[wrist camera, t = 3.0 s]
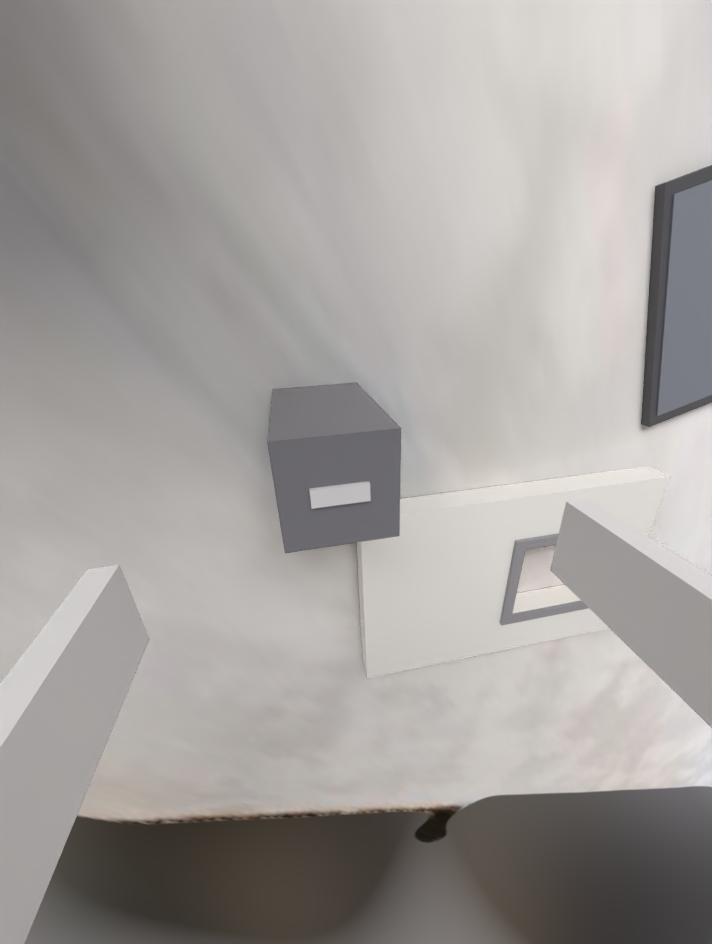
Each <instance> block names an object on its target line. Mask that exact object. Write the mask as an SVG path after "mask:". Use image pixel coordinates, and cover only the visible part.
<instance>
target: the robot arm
mask: <svg viewBox="0 0 712 944" xmlns="http://www.w3.org/2000/svg"><path fill="white" fill-rule="evenodd" d="M550 570H551V571H552V572H553V573H554V574H555V575H556V576H557V577H558V578H559V579H560V580H561V581H562V582H563V583H564V584H565V585H566V586H567V587H568V588H569V589H570V590H571V591H572V592H573V593H574V594H575V595H576V596H577V597H578V598H579V599H580V600H581V601H582V602H583V603H584V604H585V605H586V606H587V607H588V608H589V609H590V610H591V611H593V612H594V613H595V614H596V615H597V616H598V617H599V618H600V619H601V620H602V621H603V622H604V623H605V624H606V625H607V626H608V627H609V628H610V629H611V630H612V631H613V632H614V633H615V634H616V635H617V636H618V637H619V638H620V639H621V640H622V641H623V642H624V643H625V644H626V645H627V646H628V647H629V648H630V649H631V650H632V651H633V652H634V653H636V654H637V655H638V656H639V657H640V658H641V659H642V660H643V661H644V662H645V663H646V664H647V665H648V666H649V667H650V668H651V669H652V670H653V671H654V672H655V673H656V674H657V675H658V676H659V677H660V678H661V679H662V680H663V681H664V682H665V683H666V684H667V685H668V686H669V687H670V688H671V689H672V690H673V691H674V692H675V693H676V694H678V695H679V696H680V697H681V698H682V699H683V700H684V701H685V702H686V703H687V704H688V705H689V706H690V707H691V708H692V709H693V710H694V711H695V712H696V713H697V714H698V715H699V716H700V717H701V718H702V719H703V720H704V721H705V722H706V723H707V724H708V725H709V726H710V727H711V728H712V575H711V574H709V573H708V572H706V571H704V570H703V569H701V568H700V567H698V566H696V565H695V564H693V563H691V562H690V561H688V560H687V559H685V558H683V557H682V556H680V555H678V554H677V553H675V552H674V551H672V550H670V549H669V548H667V547H666V546H664V545H662V544H661V543H659V542H657V541H656V540H654V539H653V538H651V537H649V536H648V535H646V534H645V533H643V532H641V531H640V530H638V529H636V528H635V527H633V526H632V525H630V524H628V523H627V522H625V521H624V520H622V519H620V518H619V517H617V516H615V515H614V514H612V513H611V512H609V511H607V510H606V509H604V508H603V507H601V506H599V505H598V504H596V503H594V502H593V501H591V500H590V499H588V498H586V499H579V500H572V501H566V505H565V509H564V513H563V517H562V522H561V526H560V530H559V534H558V539H557V543H556V547H555V552H554V556H553V560H552V564H551V569H550ZM148 641H149V636H148V634H147V631H146V629H145V627H144V624H143V622H142V619H141V617H140V614H139V612H138V609H137V607H136V604H135V602H134V599H133V597H132V594H131V592H130V589H129V587H128V585H127V582H126V580H125V577H124V575H123V572H122V570H121V567H120V565H113V566H106V567H99V568H92V569H87V571H86V572H85V573H84V574H83V576H82V577H81V578H80V580H79V581H78V582H77V584H76V585H75V586H74V588H73V589H72V590H71V592H70V593H69V594H68V595H67V597H66V598H65V599H64V601H63V602H62V603H61V605H60V606H59V607H58V609H57V610H56V611H55V613H54V614H53V615H52V616H51V618H50V619H49V620H48V622H47V623H46V624H45V626H44V627H43V628H42V630H41V631H40V632H39V634H38V635H37V636H36V637H35V639H34V640H33V641H32V643H31V644H30V645H29V647H28V648H27V649H26V651H25V652H24V653H23V655H22V656H21V657H20V658H19V660H18V661H17V662H16V664H15V665H14V666H13V668H12V669H11V670H10V672H9V673H8V674H7V676H6V677H5V678H4V679H3V681H2V682H1V683H0V944H24V943H25V940H26V938H27V935H28V933H29V930H30V928H31V926H32V923H33V921H34V918H35V916H36V913H37V911H38V909H39V906H40V904H41V901H42V899H43V896H44V894H45V892H46V889H47V887H48V884H49V882H50V879H51V877H52V874H53V872H54V870H55V867H56V865H57V862H58V860H59V857H60V855H61V853H62V850H63V847H64V845H65V843H66V840H67V838H68V836H69V833H70V831H71V828H72V826H73V824H74V821H75V819H76V816H77V814H78V811H79V809H80V807H81V804H82V802H83V799H84V797H85V794H86V792H87V790H88V787H89V785H90V782H91V780H92V777H93V775H94V773H95V770H96V768H97V765H98V763H99V760H100V758H101V755H102V753H103V751H104V748H105V746H106V743H107V741H108V738H109V736H110V734H111V731H112V729H113V726H114V724H115V721H116V719H117V717H118V714H119V712H120V709H121V707H122V704H123V702H124V700H125V697H126V695H127V692H128V690H129V687H130V685H131V683H132V680H133V678H134V675H135V673H136V670H137V668H138V666H139V663H140V661H141V658H142V656H143V653H144V651H145V649H146V646H147V644H148Z"/></svg>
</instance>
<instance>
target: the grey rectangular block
mask: <svg viewBox="0 0 712 944" xmlns="http://www.w3.org/2000/svg"><path fill="white" fill-rule="evenodd" d="M267 443H268V449H269V455H270V462H271V468H272V474H273V480H274V487H275V493H276V499H277V506H278V512H279V518H280V525H281V531H282V537H283V543H284V550H285V553H290V552H297V551H303V550H310V549H317V548H323V547H330V546H337V545H343V544H350V543H357V542H363V541H370V540H377V539H383V538H390V537H397V536H400V460H401V428H400V427H399V426H398V425H397V424H396V422H395V421H394V420H393V419H392V418H391V417H390V416H389V415H388V414H387V413H386V412H385V411H384V410H383V409H382V408H381V407H380V406H379V405H378V404H377V403H376V402H375V401H374V400H373V399H372V398H371V397H370V396H369V395H368V394H367V393H366V392H365V391H364V390H363V389H362V388H361V387H360V386H359V385H358V383H345V384H333V385H321V386H308V387H296V388H283V389H273V392H272V402H271V411H270V421H269V431H268V440H267Z"/></svg>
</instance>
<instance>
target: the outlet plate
mask: <svg viewBox="0 0 712 944" xmlns="http://www.w3.org/2000/svg"><path fill="white" fill-rule="evenodd" d="M670 478H671V476H668V475H666V474H664V473H662V472H659V471H657V470H655V469H653V468H650V467H648V466H643V467H635V468H628V469H620V470H613V471H605V472H598V473H590V474H583V475H575V476H568V477H560V478H553V479H545V480H538V481H530V482H523V483H515V484H508V485H500V486H493V487H485V488H478V489H470V490H463V491H455V492H448V493H440V494H433V495H425V496H417V497H410V498H402V499H400V536H397V537H390V538H383V539H377V540H370V541H363V542H357V561H358V581H359V601H360V621H361V641H362V659H363V663H364V667H365V672H366V676H367V679H369V678H374V677H378V676H383V675H388V674H393V673H398V672H402V671H407V670H412V669H417V668H422V667H426V666H431V665H436V664H441V663H445V662H450V661H455V660H460V659H465V658H469V657H474V656H479V655H484V654H489V653H493V652H498V651H503V650H508V649H513V648H517V647H522V646H527V645H532V644H536V643H541V642H546V641H551V640H556V639H560V638H565V637H570V636H575V635H580V634H584V633H589V632H594V631H599V630H603V629H608V628H609V627H608V626H607V625H606V624H605V623H604V622H603V621H602V620H601V619H600V618H599V617H598V616H597V615H596V614H595V613H594V612H593V611H591V610H590V609H589V608H588V607H587V606H586V605H585V604H584V603H583V602H582V601H581V600H580V599H579V598H578V597H577V596H576V595H575V594H574V593H573V592H572V591H571V590H570V589H569V588H568V587H567V586H566V585H560V586H554V587H549V588H543V589H538V590H532V591H527V592H522V593H517V588H518V583H519V578H520V574H521V569H522V564H523V559H524V554H525V550H527V549H533V548H539V547H545V546H551V545H556V543H557V539H558V534H559V530H560V526H561V522H562V517H563V513H564V509H565V505H566V501H572V500H579V499H586V498H588V499H590V500H591V501H593V502H594V503H596V504H598V505H599V506H601V507H603V508H604V509H606V510H607V511H609V512H611V513H612V514H614V515H615V516H617V517H619V518H620V519H622V520H624V521H625V522H627V523H628V524H630V525H632V526H633V527H635V528H636V529H638V530H640V531H641V532H643V533H645V534H646V535H648V536H649V533H650V530H651V528H652V525H653V522H654V520H655V517H656V515H657V512H658V509H659V507H660V504H661V501H662V499H663V496H664V493H665V491H666V488H667V486H668V483H669V480H670Z"/></svg>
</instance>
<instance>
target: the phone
mask: <svg viewBox="0 0 712 944" xmlns="http://www.w3.org/2000/svg"><path fill="white" fill-rule="evenodd" d="M711 402H712V165H710V166H708V167H705V168H702V169H700V170H697V171H694V172H692V173H689V174H686V175H684V176H681V177H678V178H676V179H673V180H670V181H668V182H665V183H662V184H660V185H657V186H655V202H654V219H653V236H652V253H651V269H650V286H649V303H648V320H647V336H646V353H645V370H644V386H643V403H642V420H641V424H643V425H646V426H649V427H650V426H652V425H655V424H658V423H660V422H663V421H665V420H668V419H670V418H673V417H675V416H678V415H681V414H683V413H686V412H688V411H691V410H693V409H696V408H698V407H701V406H703V405H706V404H709V403H711Z"/></svg>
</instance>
